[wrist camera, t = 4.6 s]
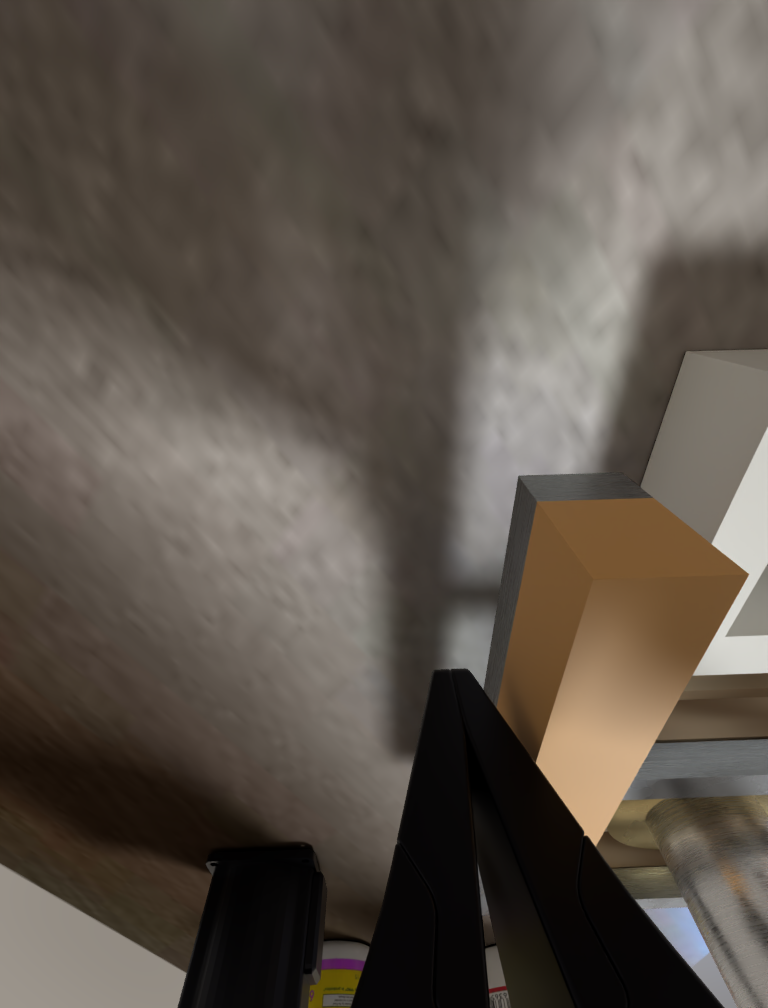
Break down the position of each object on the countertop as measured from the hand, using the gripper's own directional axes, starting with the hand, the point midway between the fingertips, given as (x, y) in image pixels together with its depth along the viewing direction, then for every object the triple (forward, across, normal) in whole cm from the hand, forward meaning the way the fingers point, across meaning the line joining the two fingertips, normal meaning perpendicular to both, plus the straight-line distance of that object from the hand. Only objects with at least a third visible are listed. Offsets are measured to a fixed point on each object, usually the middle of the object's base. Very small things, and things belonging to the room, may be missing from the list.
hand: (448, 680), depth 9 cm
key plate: (+1, -10, +6) cm, 12 cm away
